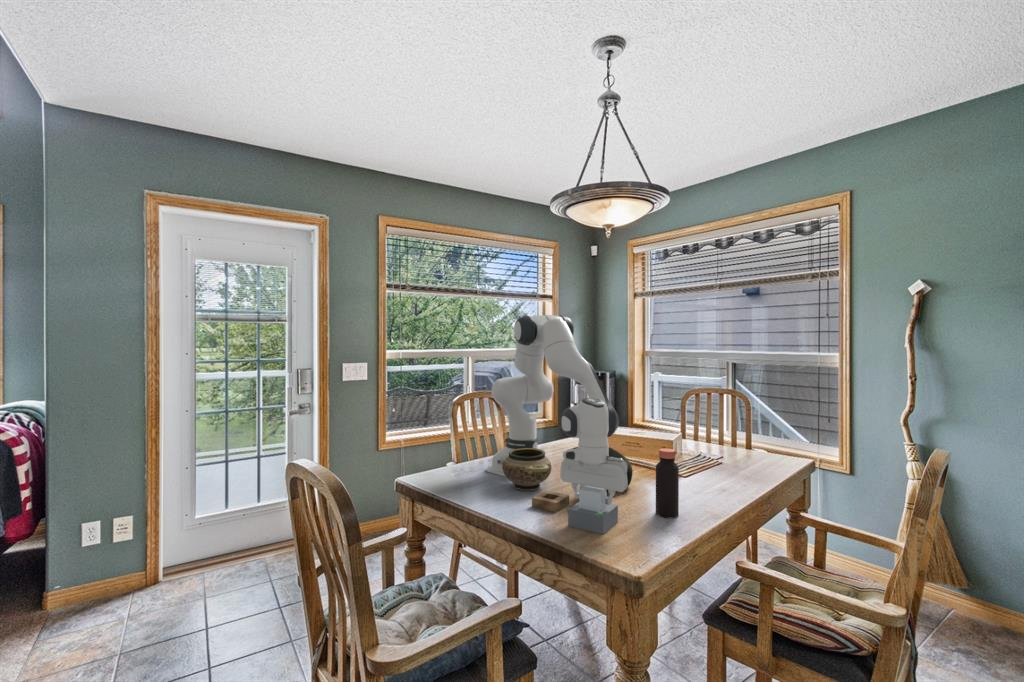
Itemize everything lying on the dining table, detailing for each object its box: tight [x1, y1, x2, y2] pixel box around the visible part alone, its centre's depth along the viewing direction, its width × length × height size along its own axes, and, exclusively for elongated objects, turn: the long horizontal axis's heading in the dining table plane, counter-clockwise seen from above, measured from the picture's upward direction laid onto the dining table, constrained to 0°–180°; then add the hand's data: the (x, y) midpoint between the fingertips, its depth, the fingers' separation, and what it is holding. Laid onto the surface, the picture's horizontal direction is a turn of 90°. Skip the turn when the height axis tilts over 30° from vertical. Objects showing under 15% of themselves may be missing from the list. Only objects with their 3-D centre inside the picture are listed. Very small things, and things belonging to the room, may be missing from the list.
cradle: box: [531, 490, 570, 513], centre depth 160 cm, size 9×9×3 cm
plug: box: [578, 486, 608, 512], centre depth 145 cm, size 6×6×10 cm
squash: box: [609, 446, 634, 487], centre depth 181 cm, size 14×15×15 cm
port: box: [567, 501, 619, 535], centre depth 145 cm, size 11×11×5 cm
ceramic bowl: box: [502, 448, 552, 491], centre depth 181 cm, size 24×18×15 cm
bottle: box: [655, 447, 680, 518], centre depth 153 cm, size 7×7×20 cm
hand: (593, 501), depth 145 cm, fingers open, 8 cm apart
